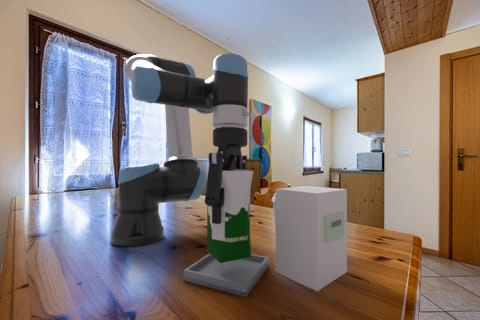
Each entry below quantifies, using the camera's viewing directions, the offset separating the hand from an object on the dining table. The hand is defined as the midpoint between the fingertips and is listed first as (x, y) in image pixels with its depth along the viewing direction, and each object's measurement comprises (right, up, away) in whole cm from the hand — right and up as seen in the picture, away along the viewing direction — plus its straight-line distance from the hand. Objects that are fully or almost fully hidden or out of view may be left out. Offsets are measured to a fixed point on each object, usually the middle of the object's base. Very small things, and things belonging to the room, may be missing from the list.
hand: (229, 232), depth 49 cm
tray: (0, -8, 0) cm, 8 cm away
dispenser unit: (+18, -9, +1) cm, 20 cm away
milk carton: (0, -5, 0) cm, 5 cm away
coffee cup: (+16, -9, +16) cm, 24 cm away
